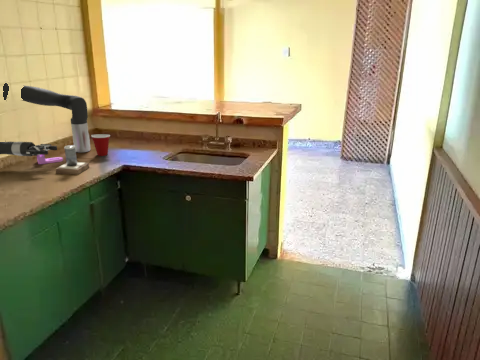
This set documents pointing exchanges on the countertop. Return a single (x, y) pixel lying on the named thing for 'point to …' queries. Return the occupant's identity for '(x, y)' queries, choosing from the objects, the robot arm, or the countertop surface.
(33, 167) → the countertop surface
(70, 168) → the stand
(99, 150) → the plastic cup
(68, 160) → the housing
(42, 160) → the bracket
